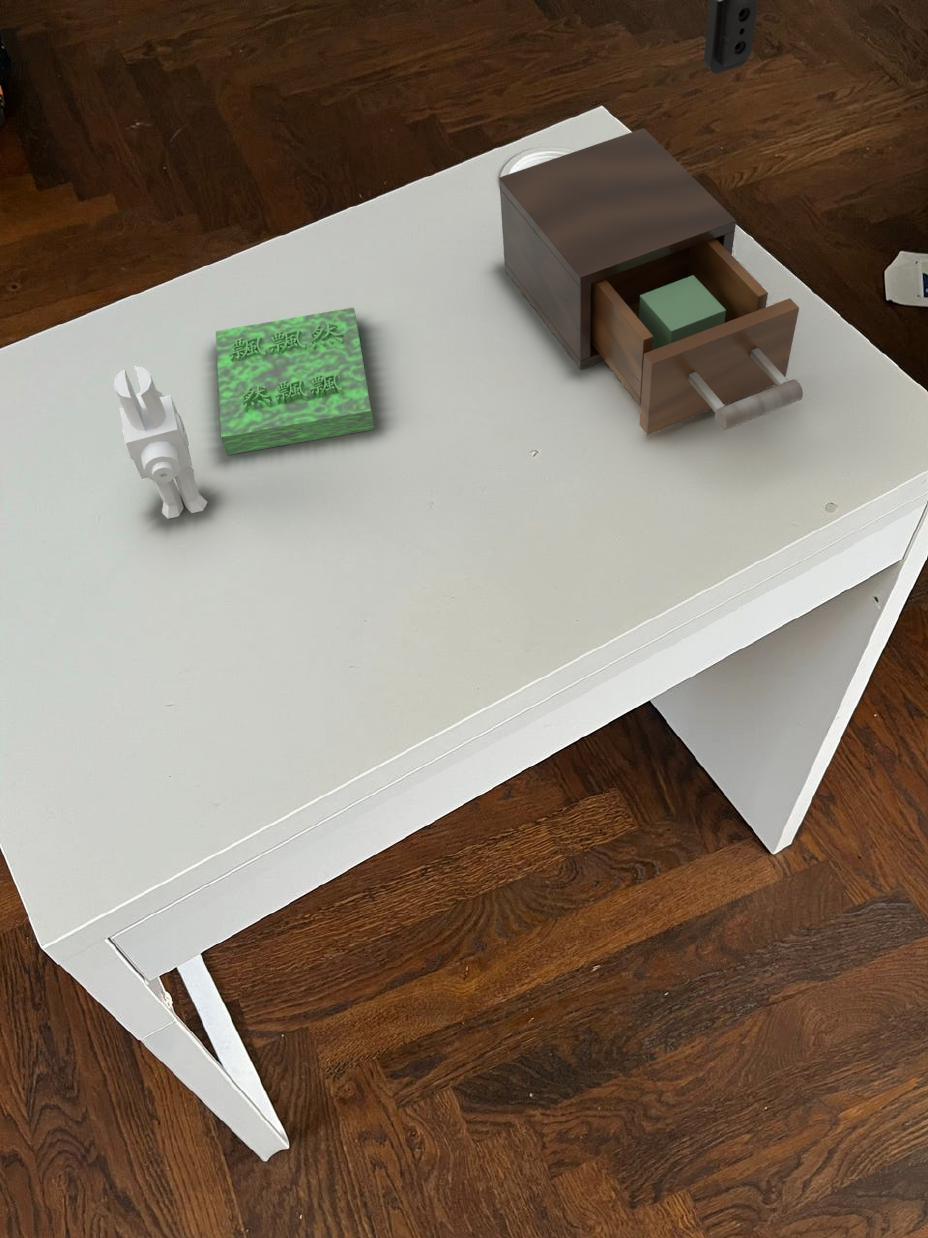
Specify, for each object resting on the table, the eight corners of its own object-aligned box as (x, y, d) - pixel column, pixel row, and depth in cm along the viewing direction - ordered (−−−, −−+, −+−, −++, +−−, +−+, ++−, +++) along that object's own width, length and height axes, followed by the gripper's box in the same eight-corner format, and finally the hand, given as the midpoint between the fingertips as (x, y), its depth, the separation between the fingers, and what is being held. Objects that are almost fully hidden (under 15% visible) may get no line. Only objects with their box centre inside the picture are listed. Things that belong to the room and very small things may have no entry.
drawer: (827, 427, 82) (845, 353, 77) (685, 484, 80) (692, 413, 75) (697, 284, 92) (705, 210, 86) (567, 332, 90) (567, 260, 84)
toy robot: (200, 456, 87) (152, 333, 77) (217, 530, 83) (168, 409, 73) (149, 470, 87) (94, 348, 77) (163, 545, 82) (107, 425, 72)
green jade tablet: (227, 454, 87) (219, 431, 85) (221, 349, 94) (214, 326, 92) (374, 429, 87) (369, 405, 85) (357, 325, 94) (352, 302, 92)
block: (688, 322, 88) (693, 274, 84) (720, 357, 86) (726, 309, 82) (637, 342, 87) (639, 294, 84) (667, 378, 85) (671, 330, 81)
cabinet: (724, 315, 91) (736, 220, 84) (580, 369, 89) (580, 277, 82) (639, 221, 99) (643, 127, 92) (504, 269, 97) (498, 177, 89)
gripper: (896, -342, 43) (822, 71, 57) (701, -427, 51) (676, -47, 65) (723, -294, 42) (689, 117, 55) (550, -389, 50) (556, -9, 63)
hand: (682, 28), depth 60 cm, fingers open, 8 cm apart
